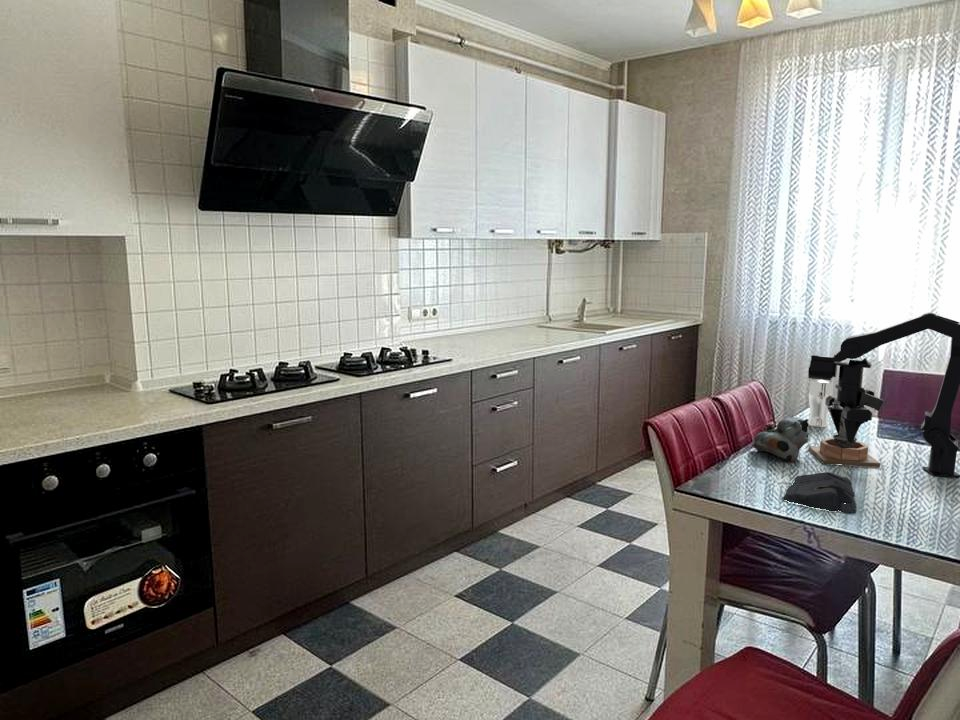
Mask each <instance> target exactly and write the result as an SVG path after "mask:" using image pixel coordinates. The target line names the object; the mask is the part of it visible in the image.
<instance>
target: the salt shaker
mask: <svg viewBox="0 0 960 720" xmlns="http://www.w3.org/2000/svg"><path fill="white" fill-rule="evenodd" d="M841 417H843V414H842V413H841ZM839 424H840V430H839V433H837V434H834V435H833V436H832V438H834V441H835V443H836V444H837V445H838V446H837V447H841V448H849V447H852V446H853V445H854V444H855V441H857V440H858V437H855V438H854V440H853V442H848V440H847V437H846V433H845V429H844V426H843V422H842V418H841V422H840V423H839Z"/></svg>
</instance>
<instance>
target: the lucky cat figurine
mask: <svg viewBox="0 0 960 720" xmlns="http://www.w3.org/2000/svg"><path fill="white" fill-rule="evenodd" d="M808 421H809V418H807V419H802V418H799V417H796V416H787V417H785V418H782V419H781V420H780V421H778V423H777V425H776V428H774V427H773V424H772V423H770V422H768V423H767V424H766V425H765V427H766V428H765V430H764V431H761V432H758V433H757V434H756V435H755V438H754V441H753V443H752V444H751V445H750V446H751V447H752V448H753V449H755V450H756V451H757V450H761V451H760V452H767V453H770V454H772V455H773V456H777V457H779V458H780V459H783V460H786V461H787V462H788V463H793V462H795V461H796V460H797V459H798V458H799V453H800V450H801V449H802V448H803V446H805V444H807V443H808V442H809V436H810V430H809V426H810V425H809V424H808Z"/></svg>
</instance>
